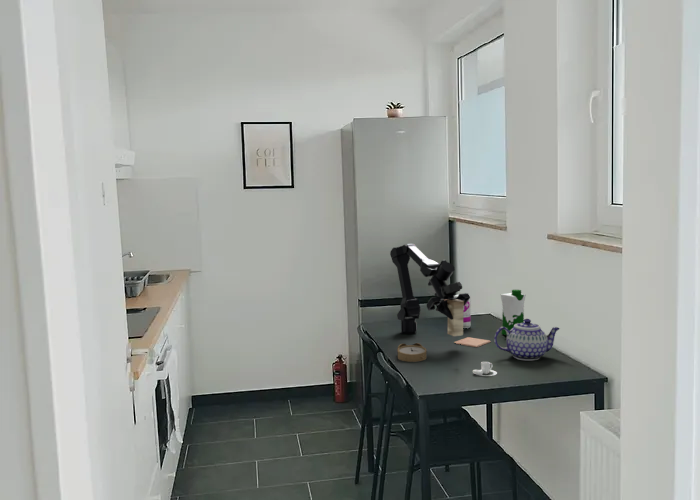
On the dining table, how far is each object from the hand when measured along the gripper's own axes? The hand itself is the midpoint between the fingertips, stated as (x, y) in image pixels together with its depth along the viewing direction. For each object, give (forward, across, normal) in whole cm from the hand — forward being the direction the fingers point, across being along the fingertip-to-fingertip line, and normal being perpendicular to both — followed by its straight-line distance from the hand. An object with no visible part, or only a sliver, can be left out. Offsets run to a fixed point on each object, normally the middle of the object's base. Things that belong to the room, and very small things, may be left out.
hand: (457, 318), depth 268 cm
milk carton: (+4, +36, +14) cm, 39 cm away
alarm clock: (+9, -22, +10) cm, 26 cm away
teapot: (+26, +14, -8) cm, 31 cm away
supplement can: (-13, +26, +32) cm, 43 cm away
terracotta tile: (+5, +12, +13) cm, 18 cm away
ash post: (+4, 0, +6) cm, 7 cm away
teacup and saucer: (+30, -14, -12) cm, 35 cm away
